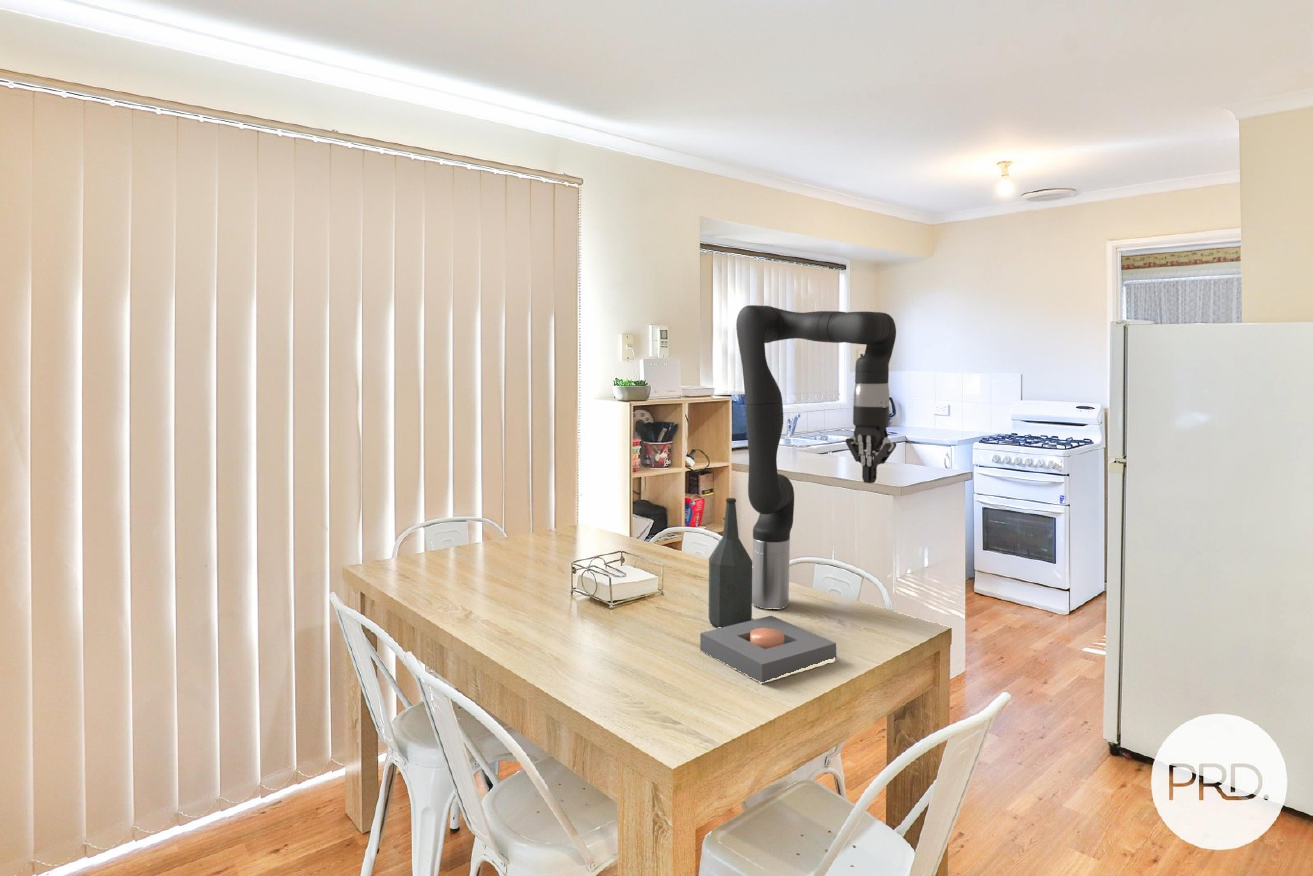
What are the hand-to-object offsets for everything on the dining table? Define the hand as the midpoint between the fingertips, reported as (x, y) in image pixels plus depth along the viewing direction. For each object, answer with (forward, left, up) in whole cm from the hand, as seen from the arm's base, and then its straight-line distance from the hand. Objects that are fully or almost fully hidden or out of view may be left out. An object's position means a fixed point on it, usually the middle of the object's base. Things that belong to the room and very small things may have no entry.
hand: (869, 482), depth 167 cm
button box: (-3, -27, -35) cm, 44 cm away
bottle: (-23, -21, -35) cm, 47 cm away
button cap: (-3, -27, -34) cm, 43 cm away
